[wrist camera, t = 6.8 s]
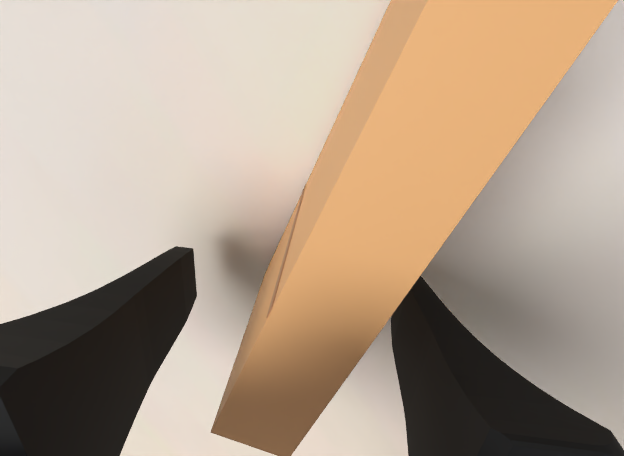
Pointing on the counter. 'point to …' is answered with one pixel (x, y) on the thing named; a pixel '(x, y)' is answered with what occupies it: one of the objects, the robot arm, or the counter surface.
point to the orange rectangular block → (392, 193)
